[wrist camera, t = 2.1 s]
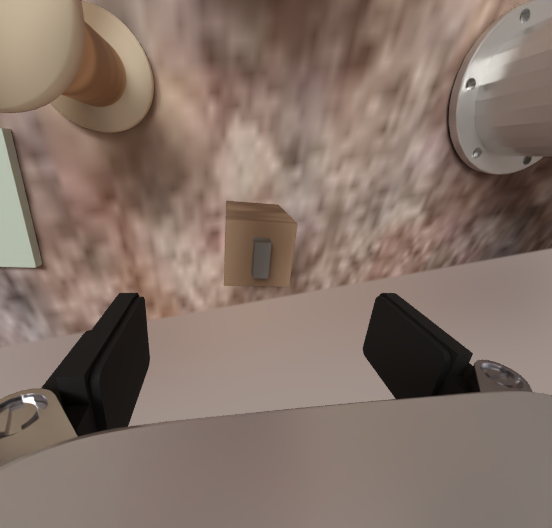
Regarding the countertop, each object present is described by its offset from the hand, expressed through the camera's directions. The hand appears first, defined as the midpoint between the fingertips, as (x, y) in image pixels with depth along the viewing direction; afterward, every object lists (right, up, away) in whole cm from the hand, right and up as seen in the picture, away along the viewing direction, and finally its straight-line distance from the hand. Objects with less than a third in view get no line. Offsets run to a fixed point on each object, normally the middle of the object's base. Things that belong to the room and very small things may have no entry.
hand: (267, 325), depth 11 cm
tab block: (-2, +6, +13) cm, 14 cm away
